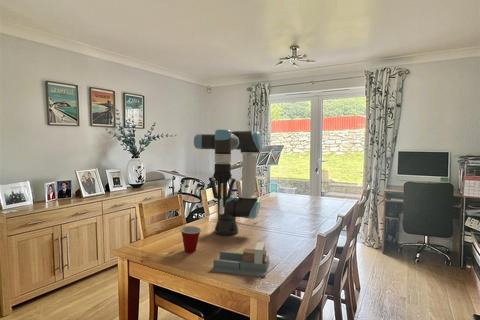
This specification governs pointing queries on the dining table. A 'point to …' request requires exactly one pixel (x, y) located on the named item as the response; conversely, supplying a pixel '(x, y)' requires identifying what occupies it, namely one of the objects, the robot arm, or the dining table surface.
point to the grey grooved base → (242, 263)
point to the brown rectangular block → (251, 255)
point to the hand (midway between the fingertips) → (221, 213)
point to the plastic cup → (190, 238)
